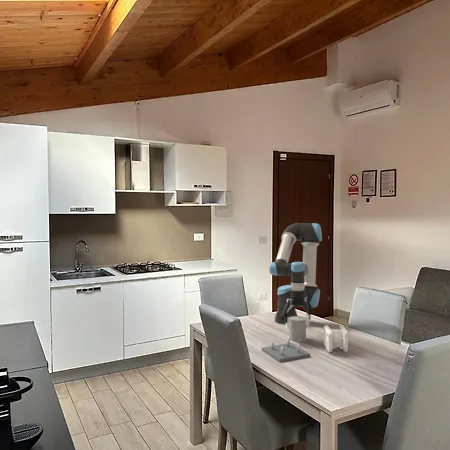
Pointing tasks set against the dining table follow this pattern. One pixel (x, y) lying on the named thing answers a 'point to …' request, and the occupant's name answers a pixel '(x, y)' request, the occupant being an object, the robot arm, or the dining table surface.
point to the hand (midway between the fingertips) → (297, 327)
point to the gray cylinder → (297, 329)
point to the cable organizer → (335, 338)
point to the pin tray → (285, 351)
